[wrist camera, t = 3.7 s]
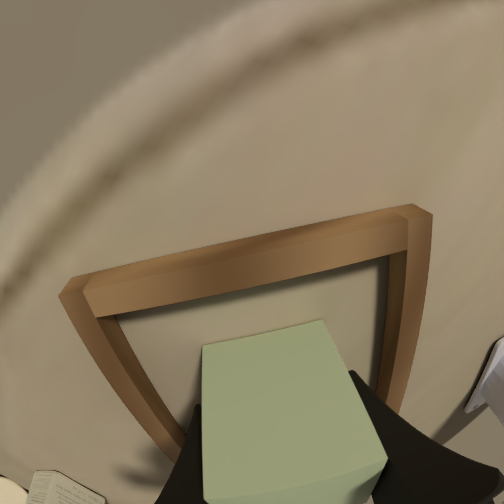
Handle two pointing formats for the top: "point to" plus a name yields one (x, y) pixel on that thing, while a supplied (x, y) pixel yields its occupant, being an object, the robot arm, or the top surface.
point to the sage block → (285, 422)
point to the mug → (11, 492)
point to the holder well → (250, 275)
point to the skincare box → (59, 490)
